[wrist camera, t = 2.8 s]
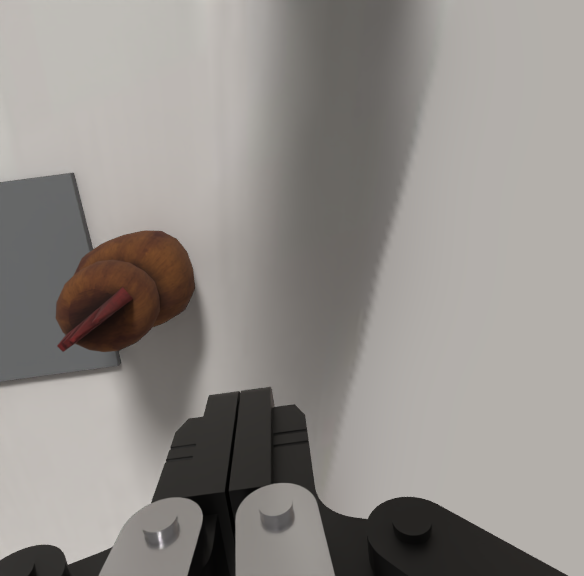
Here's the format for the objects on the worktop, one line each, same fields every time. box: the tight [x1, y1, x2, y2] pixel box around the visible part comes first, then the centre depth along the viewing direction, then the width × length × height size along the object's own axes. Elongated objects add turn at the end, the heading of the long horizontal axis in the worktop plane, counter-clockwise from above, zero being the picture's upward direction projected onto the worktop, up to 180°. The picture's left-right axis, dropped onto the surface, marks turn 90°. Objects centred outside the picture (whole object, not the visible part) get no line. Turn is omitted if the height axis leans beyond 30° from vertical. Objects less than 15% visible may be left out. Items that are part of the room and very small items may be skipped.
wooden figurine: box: [55, 231, 195, 352], centre depth 26 cm, size 7×6×15 cm
